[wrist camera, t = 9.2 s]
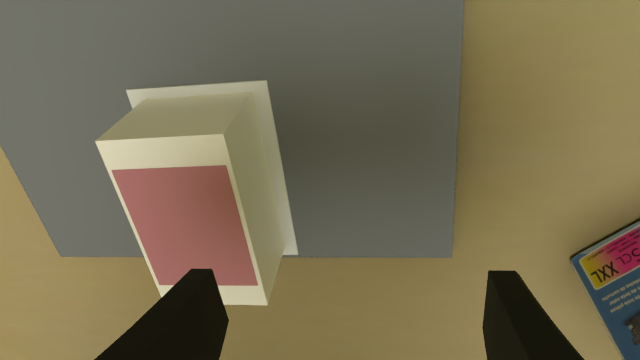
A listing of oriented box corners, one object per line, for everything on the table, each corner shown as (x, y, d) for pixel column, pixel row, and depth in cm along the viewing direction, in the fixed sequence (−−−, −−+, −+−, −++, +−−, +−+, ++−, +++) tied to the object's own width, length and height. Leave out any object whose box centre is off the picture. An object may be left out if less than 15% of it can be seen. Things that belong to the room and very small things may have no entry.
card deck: (252, 91, 19) (222, 134, 16) (285, 246, 24) (267, 306, 20) (144, 99, 20) (94, 141, 17) (195, 247, 25) (163, 304, 21)
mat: (450, 249, 23) (452, 258, 23) (66, 249, 27) (59, 257, 26) (471, -205, 14) (475, -209, 13) (-121, -107, 18) (-139, -107, 17)
